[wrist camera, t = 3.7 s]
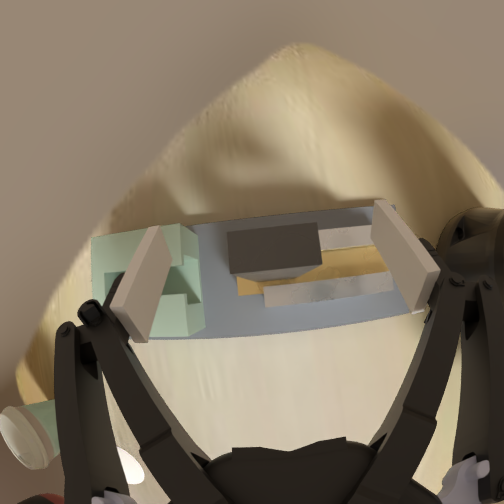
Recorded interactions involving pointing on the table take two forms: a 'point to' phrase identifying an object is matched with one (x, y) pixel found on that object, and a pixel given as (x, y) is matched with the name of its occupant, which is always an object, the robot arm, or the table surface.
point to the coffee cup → (31, 433)
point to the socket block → (177, 283)
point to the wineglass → (131, 469)
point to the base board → (253, 306)
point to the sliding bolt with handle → (293, 258)
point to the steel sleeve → (332, 287)
